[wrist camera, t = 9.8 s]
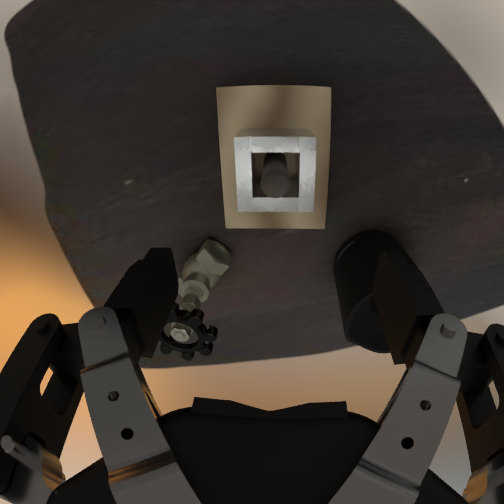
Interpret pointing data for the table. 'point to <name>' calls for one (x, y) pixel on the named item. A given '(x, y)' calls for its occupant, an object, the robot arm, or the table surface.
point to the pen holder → (363, 287)
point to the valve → (195, 301)
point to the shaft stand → (274, 163)
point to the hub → (300, 187)
